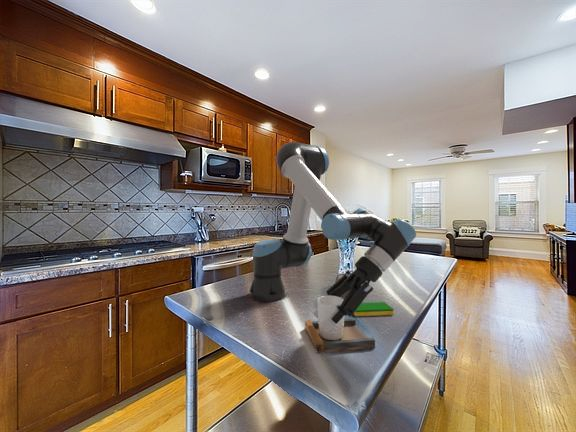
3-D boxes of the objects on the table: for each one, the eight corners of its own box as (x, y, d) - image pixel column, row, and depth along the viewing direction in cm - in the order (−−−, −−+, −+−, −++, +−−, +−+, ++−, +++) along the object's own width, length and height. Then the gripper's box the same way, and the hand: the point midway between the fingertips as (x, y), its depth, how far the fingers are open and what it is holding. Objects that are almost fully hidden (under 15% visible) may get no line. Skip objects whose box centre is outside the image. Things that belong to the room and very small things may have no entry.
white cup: (314, 328, 77) (314, 295, 77) (340, 327, 78) (340, 295, 77) (320, 342, 69) (320, 306, 69) (348, 341, 70) (349, 305, 70)
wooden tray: (354, 324, 82) (354, 316, 82) (375, 347, 69) (375, 338, 68) (305, 328, 79) (305, 320, 79) (317, 353, 66) (317, 343, 66)
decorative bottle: (351, 299, 105) (351, 283, 104) (332, 298, 107) (332, 282, 106) (352, 281, 130) (352, 268, 129) (337, 280, 131) (337, 267, 131)
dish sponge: (348, 309, 95) (348, 302, 95) (384, 308, 97) (384, 301, 97) (355, 317, 88) (355, 310, 88) (393, 315, 90) (394, 309, 90)
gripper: (402, 282, 65) (341, 350, 63) (365, 264, 86) (318, 315, 84) (383, 262, 64) (321, 331, 62) (350, 249, 85) (302, 300, 82)
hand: (319, 322), depth 73 cm, fingers closed on white cup, 8 cm apart
